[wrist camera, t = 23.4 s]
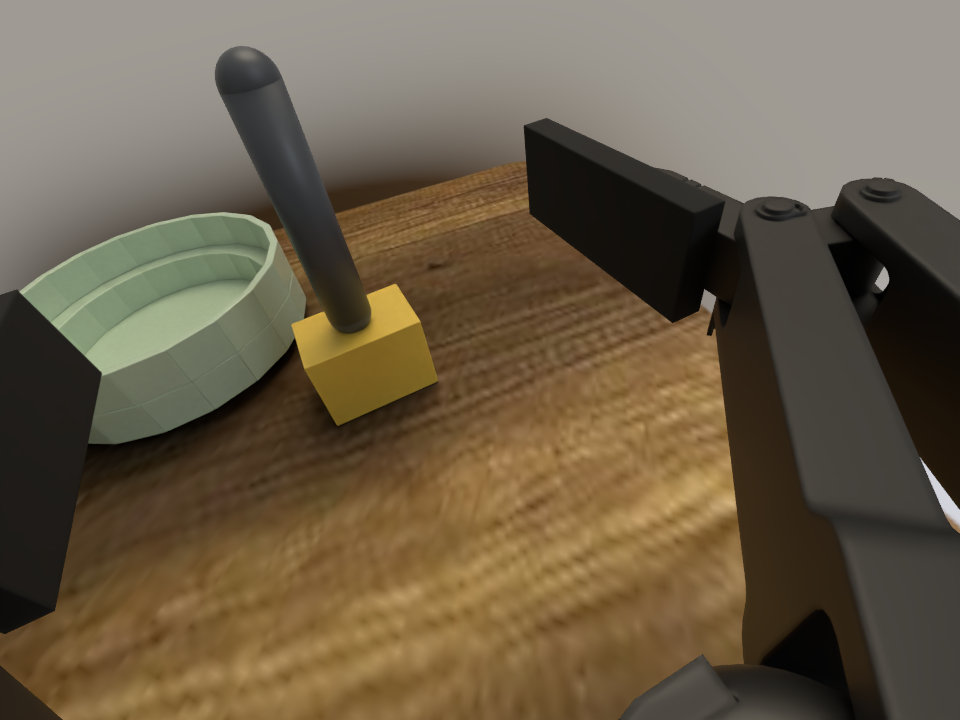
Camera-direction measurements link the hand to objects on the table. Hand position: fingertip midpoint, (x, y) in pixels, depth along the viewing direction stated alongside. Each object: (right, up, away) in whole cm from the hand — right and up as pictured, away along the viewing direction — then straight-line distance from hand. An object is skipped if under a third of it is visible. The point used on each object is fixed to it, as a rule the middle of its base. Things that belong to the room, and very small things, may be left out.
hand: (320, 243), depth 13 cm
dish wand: (-2, -4, +15) cm, 15 cm away
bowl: (-16, -2, +20) cm, 25 cm away
